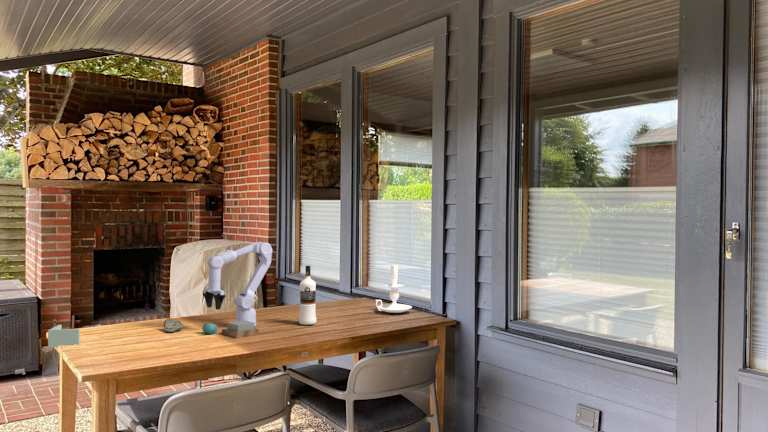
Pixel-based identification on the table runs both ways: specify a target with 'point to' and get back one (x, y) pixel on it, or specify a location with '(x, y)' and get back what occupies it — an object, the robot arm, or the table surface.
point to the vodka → (307, 300)
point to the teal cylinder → (209, 328)
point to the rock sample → (172, 325)
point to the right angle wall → (62, 336)
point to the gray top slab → (241, 325)
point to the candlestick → (393, 295)
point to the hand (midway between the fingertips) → (213, 308)
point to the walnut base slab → (239, 333)
